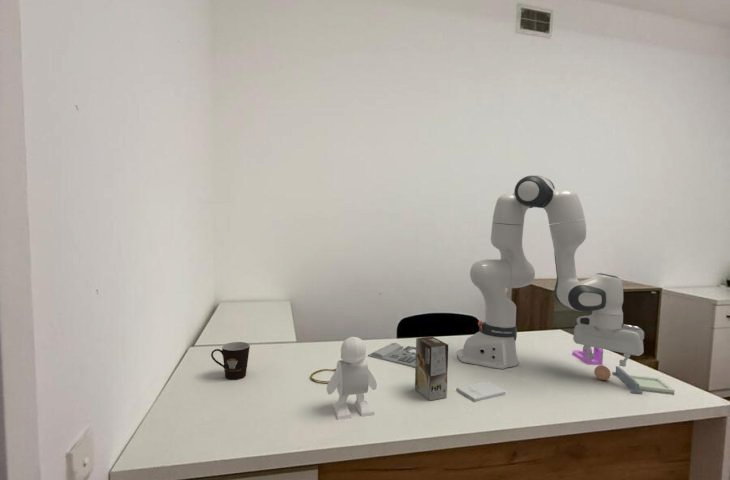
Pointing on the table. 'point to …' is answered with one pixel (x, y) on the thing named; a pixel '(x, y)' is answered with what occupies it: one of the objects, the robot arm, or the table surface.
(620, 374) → the divider
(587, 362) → the bracket
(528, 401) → the table surface
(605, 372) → the ball
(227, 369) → the coffee mug
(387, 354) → the office telephone
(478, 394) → the external hard drive
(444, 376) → the coffee box
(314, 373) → the brown hoop
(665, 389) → the tray
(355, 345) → the toy robot
